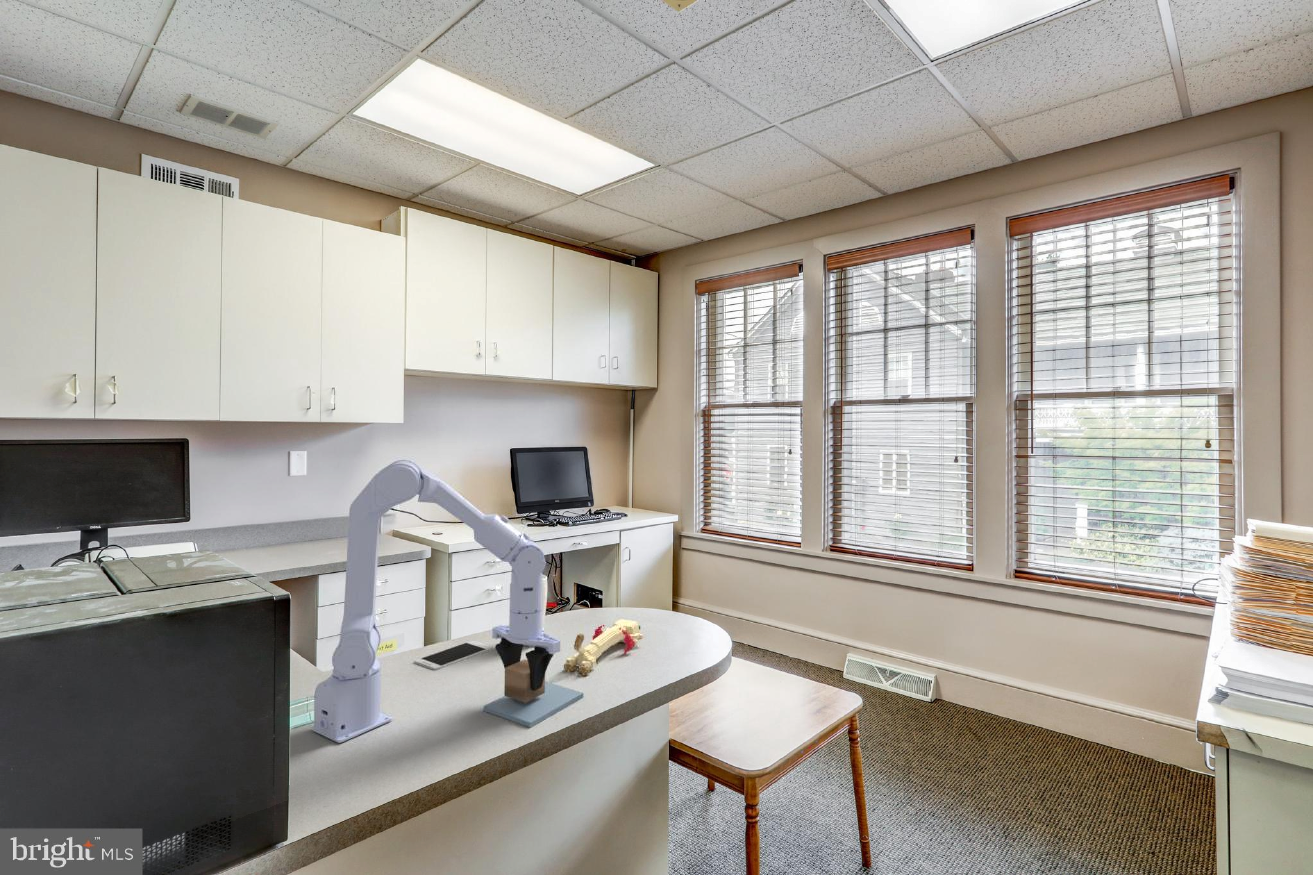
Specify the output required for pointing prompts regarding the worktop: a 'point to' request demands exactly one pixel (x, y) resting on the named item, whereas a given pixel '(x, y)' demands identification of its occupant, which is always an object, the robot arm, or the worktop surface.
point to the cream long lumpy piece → (602, 644)
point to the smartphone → (453, 655)
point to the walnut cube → (520, 682)
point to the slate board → (534, 705)
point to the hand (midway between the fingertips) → (524, 684)
